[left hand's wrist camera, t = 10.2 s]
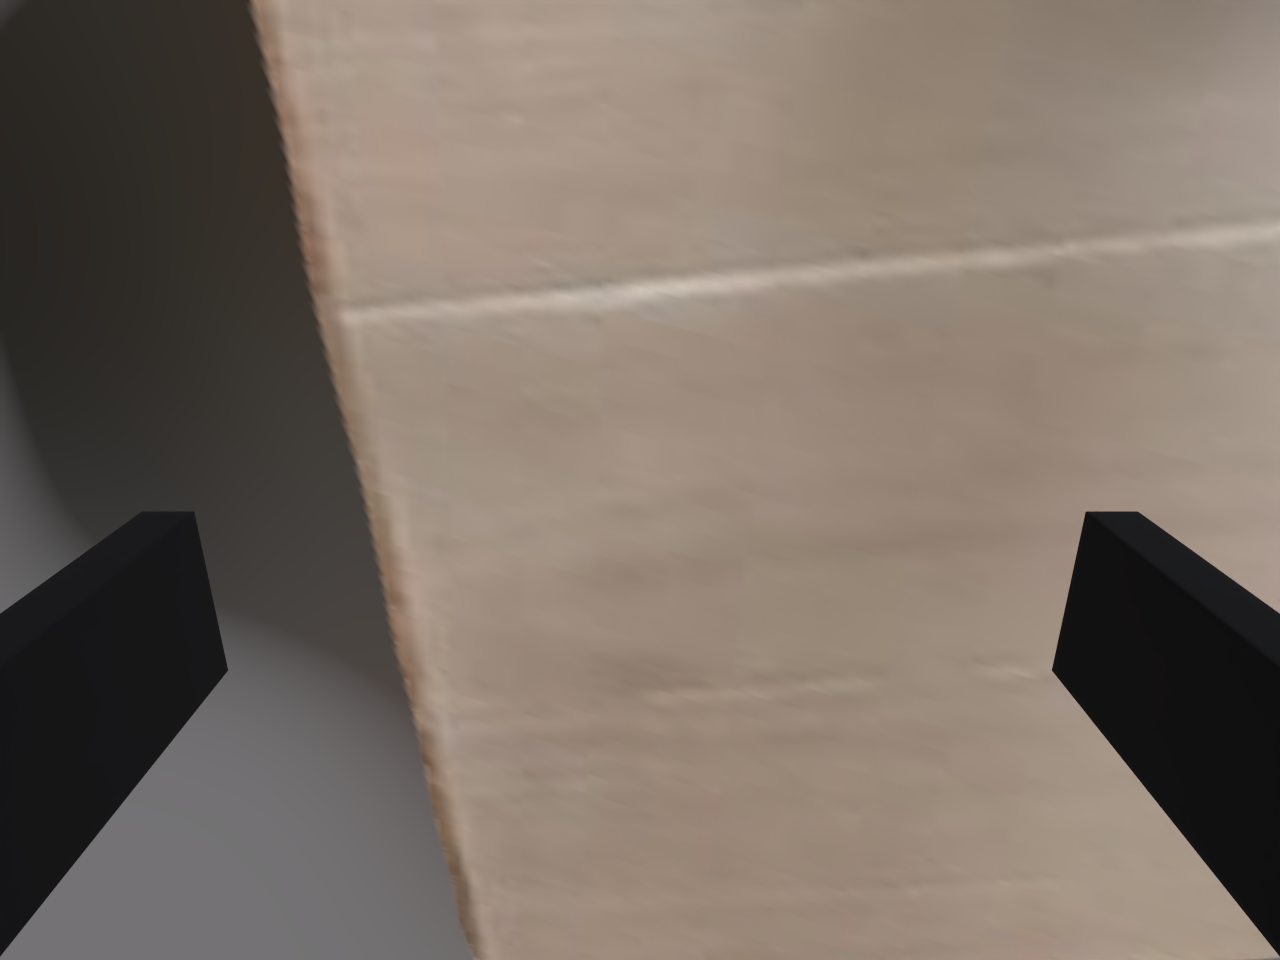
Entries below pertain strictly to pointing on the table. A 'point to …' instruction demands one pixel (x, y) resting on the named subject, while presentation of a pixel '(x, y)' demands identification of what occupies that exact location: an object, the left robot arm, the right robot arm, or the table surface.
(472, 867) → the table surface
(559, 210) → the table surface
